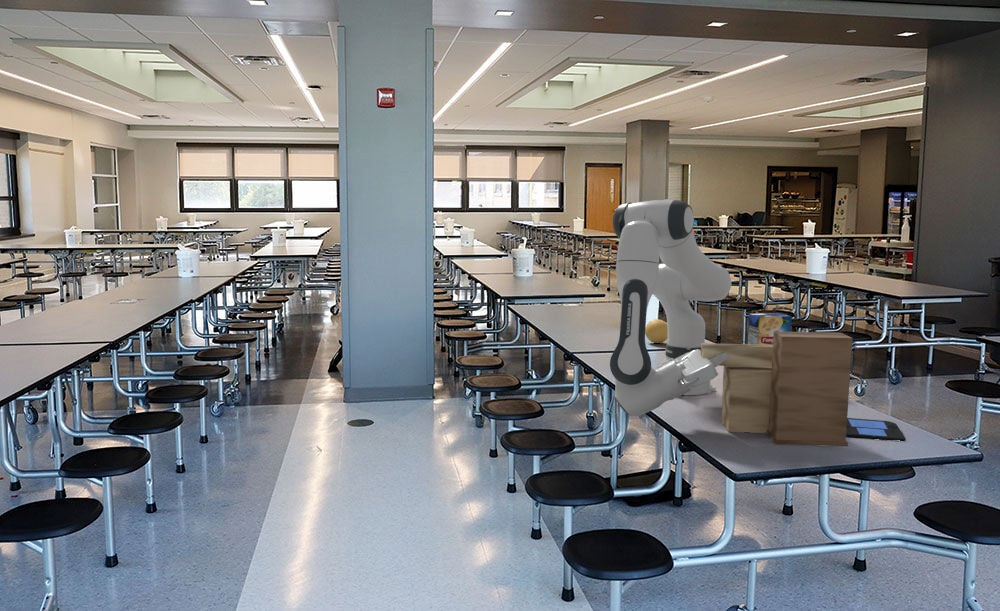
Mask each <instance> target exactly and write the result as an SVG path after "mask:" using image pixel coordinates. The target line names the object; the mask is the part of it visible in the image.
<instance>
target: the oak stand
mask: <svg viewBox="0 0 1000 611" xmlns="http://www.w3.org/2000/svg"><path fill="white" fill-rule="evenodd" d="M722 373H723V375H722V376H723V377H722V397H721V424H722V423H723V424H722V425H723V427H724V426H725V427H724V428H725V429H726V431H727V430H728V431H727V432H728V433H744V432H750V434H751V433H753V434H766V430H769V413H770V393H771V374H772V367H759V366H723V372H722Z"/></svg>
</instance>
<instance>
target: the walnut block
mask: <svg viewBox="0 0 1000 611" xmlns="http://www.w3.org/2000/svg"><path fill="white" fill-rule="evenodd" d="M852 350H853V337H852V336H848V335H847V334H844V333H842V332H815V331H813V332H812V331H811V332H810V331H791V332H774V335H773V354H772V374H771V393H770V413H769V430H766V433H765V434H766V436H768V438H769V439H770V440H771V442H772V443H773V444H774V445H781V446H782V445H783V446H784V445H785V446H786V445H787V446H788V445H789V446H812V447H813V446H819V447H846V448H847V447H849V442H848V441H847V437H846V430H847V418H848V411H849V400H850V399H849V398H850V397H849V395H850V382H851V380H850V379H851V367H852V366H851V364H852Z"/></svg>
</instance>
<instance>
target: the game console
mask: <svg viewBox="0 0 1000 611" xmlns="http://www.w3.org/2000/svg"><path fill="white" fill-rule="evenodd" d="M846 438H850V439H851V438H852V439H864V440H874V439H879V440H878V441H887V440H900V441H905V442H906V439H907V438H906V437H905V435H904V434H903V432H902V430H901V429H900V427H899V426H898V425H897V423H896V422H893V421H888V420H880V419H879V420H878V419H866V418H853V417H847V430H846Z"/></svg>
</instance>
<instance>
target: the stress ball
mask: <svg viewBox="0 0 1000 611" xmlns="http://www.w3.org/2000/svg"><path fill="white" fill-rule="evenodd" d="M645 337H646V338H647V339H648V341H650V343H653V342H654V343H661V344H662V343H664V342H665V341H668V326H667V321H665V320H662V319H656V318H655V319H653V320H650V321H649V322H648V323H646V329H645ZM654 343H653V344H654Z"/></svg>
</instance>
